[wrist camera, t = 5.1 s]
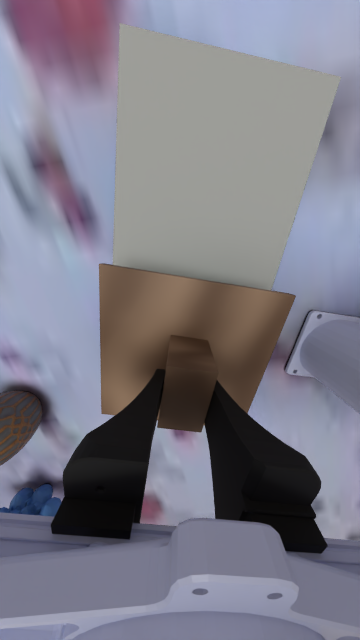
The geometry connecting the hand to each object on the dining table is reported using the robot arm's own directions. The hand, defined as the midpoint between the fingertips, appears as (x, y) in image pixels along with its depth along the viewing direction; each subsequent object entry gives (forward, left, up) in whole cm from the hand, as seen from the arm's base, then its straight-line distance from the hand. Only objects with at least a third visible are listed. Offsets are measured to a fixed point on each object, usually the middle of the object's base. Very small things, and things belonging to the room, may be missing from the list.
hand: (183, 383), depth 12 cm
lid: (0, -1, -3) cm, 3 cm away
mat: (0, -15, -7) cm, 17 cm away
